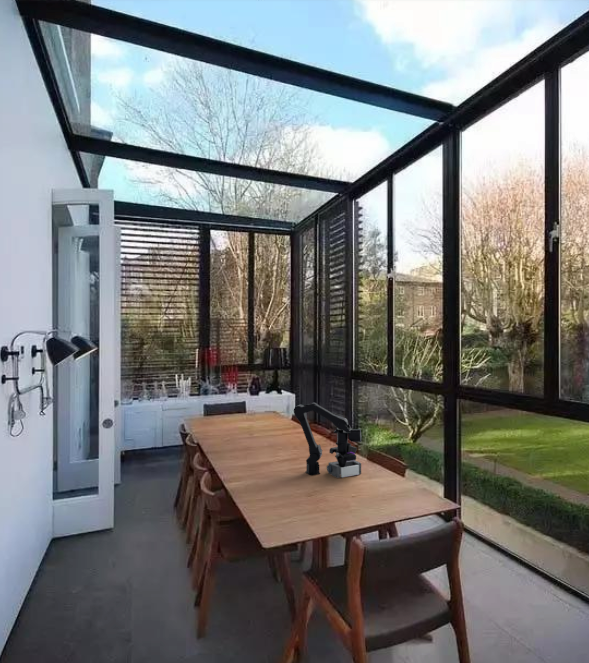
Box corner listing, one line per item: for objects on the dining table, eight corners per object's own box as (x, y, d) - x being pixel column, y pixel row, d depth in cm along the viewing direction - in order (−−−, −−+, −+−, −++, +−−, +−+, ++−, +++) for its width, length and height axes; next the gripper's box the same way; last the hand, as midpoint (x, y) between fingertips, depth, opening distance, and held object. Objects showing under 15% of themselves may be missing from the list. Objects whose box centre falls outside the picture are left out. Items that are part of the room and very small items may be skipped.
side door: (341, 477, 232) (341, 468, 232) (340, 476, 233) (340, 467, 233) (358, 474, 237) (358, 465, 237) (357, 473, 238) (357, 464, 238)
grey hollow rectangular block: (335, 478, 231) (335, 467, 231) (326, 473, 239) (326, 462, 239) (361, 473, 239) (361, 463, 239) (352, 469, 247) (352, 459, 247)
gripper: (364, 443, 231) (364, 471, 231) (345, 436, 248) (345, 462, 248) (347, 445, 226) (347, 474, 226) (328, 438, 243) (328, 465, 243)
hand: (342, 469), depth 236 cm, fingers closed
